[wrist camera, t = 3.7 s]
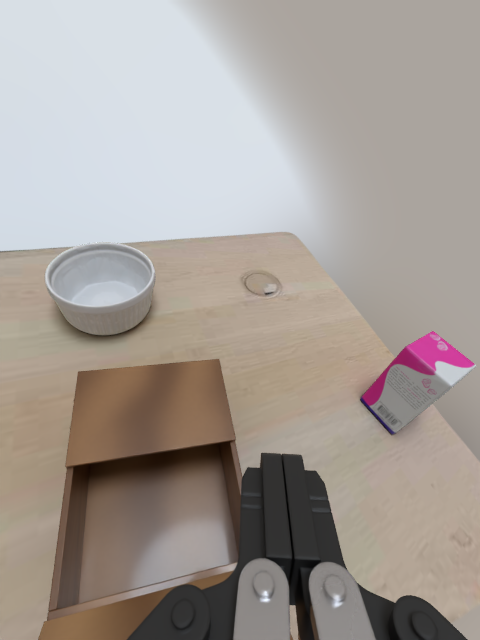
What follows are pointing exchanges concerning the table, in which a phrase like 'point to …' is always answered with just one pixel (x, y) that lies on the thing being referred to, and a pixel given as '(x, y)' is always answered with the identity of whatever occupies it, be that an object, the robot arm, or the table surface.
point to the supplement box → (415, 381)
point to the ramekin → (102, 286)
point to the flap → (114, 616)
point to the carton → (146, 485)
